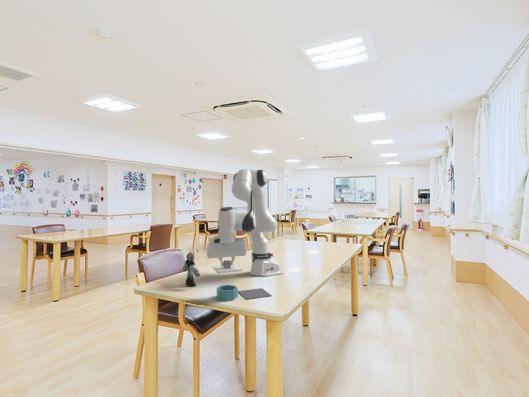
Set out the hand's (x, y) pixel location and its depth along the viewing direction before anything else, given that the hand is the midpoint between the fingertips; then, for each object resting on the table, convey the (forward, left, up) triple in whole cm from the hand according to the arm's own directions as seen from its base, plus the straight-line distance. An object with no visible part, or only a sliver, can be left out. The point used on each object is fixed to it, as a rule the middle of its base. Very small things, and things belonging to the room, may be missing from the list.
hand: (226, 265), depth 156 cm
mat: (-15, 0, -16) cm, 22 cm away
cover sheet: (0, 0, -2) cm, 2 cm away
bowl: (0, 0, -16) cm, 16 cm away
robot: (+14, -30, -17) cm, 37 cm away
